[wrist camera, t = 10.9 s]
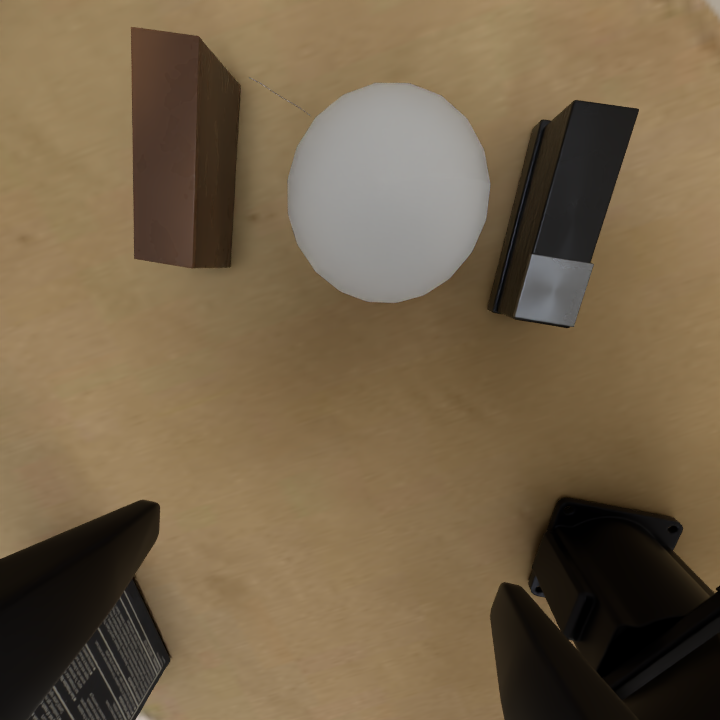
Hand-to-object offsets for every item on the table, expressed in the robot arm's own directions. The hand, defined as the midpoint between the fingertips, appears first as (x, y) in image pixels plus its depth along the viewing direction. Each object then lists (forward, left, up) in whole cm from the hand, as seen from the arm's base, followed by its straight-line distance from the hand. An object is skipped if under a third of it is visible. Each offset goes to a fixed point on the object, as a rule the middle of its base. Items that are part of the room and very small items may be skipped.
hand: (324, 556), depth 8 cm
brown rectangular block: (+9, -9, -11) cm, 17 cm away
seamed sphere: (+1, -10, -12) cm, 15 cm away
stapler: (-7, -9, -11) cm, 16 cm away
